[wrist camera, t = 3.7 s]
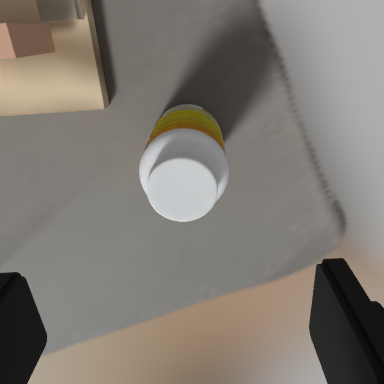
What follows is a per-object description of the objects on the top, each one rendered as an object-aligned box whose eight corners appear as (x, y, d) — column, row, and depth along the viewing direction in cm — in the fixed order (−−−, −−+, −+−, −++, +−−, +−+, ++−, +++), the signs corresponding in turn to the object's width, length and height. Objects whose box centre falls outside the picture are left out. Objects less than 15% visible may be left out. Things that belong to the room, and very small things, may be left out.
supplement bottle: (148, 107, 26) (121, 149, 17) (218, 98, 26) (228, 135, 17) (160, 171, 29) (142, 238, 19) (224, 164, 28) (236, 229, 19)
